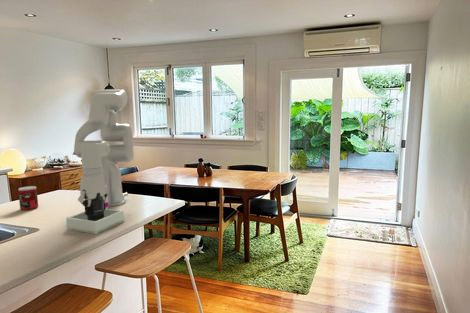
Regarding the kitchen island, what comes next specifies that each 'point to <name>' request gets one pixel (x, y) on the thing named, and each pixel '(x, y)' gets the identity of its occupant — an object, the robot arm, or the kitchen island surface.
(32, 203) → the canned food
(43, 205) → the kitchen island surface
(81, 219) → the bin
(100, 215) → the supplement bottle
